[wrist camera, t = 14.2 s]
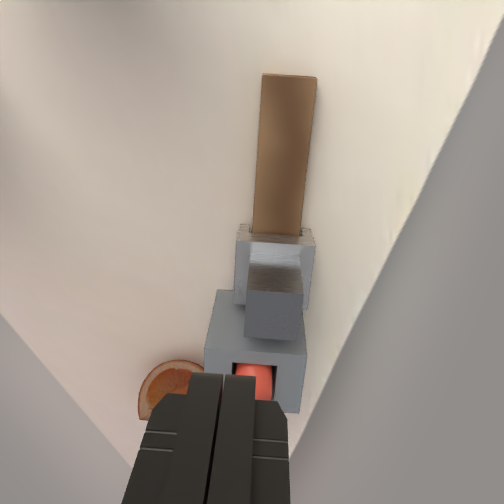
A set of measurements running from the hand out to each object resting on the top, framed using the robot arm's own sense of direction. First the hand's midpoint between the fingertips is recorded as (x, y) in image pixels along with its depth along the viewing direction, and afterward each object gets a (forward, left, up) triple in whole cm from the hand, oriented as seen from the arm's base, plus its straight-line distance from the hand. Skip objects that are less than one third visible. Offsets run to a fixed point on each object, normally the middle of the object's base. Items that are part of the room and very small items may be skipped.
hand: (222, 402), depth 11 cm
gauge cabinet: (+1, -17, -29) cm, 34 cm away
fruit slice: (-6, -25, -29) cm, 39 cm away
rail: (+2, -4, -29) cm, 29 cm away
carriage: (+2, -10, -29) cm, 31 cm away
